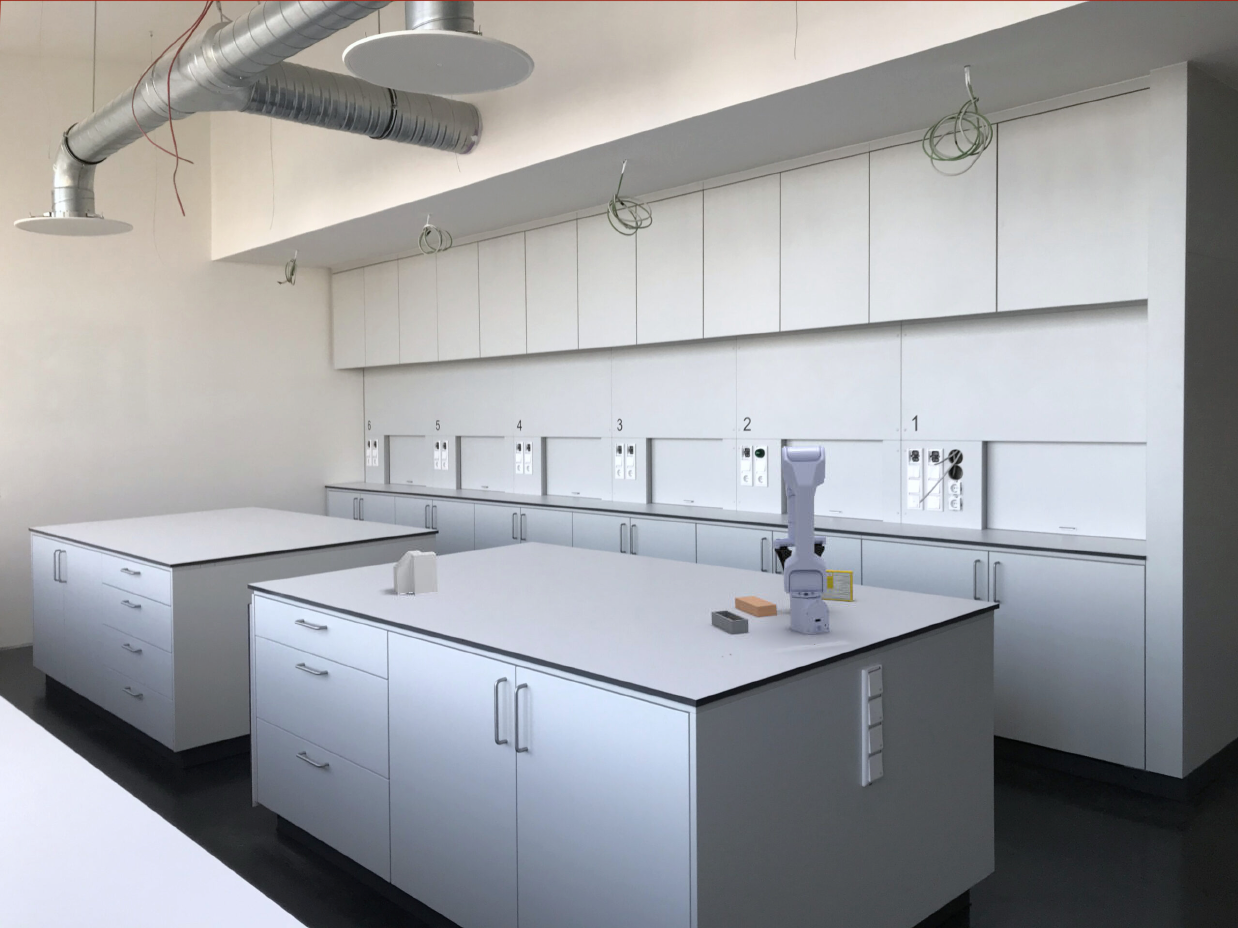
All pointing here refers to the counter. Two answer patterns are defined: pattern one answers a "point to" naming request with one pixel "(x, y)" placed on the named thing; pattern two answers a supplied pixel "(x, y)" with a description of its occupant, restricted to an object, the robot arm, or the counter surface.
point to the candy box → (839, 586)
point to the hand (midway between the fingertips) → (800, 574)
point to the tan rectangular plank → (756, 606)
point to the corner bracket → (416, 573)
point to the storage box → (729, 622)
